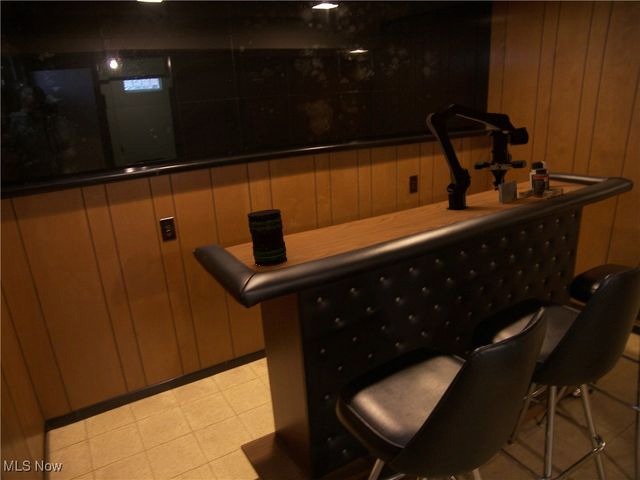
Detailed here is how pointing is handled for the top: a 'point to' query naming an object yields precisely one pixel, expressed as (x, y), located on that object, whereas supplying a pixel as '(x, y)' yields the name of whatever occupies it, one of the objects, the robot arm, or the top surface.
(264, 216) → the storage jar
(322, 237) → the top surface
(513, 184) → the grey flat block
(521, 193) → the cradle
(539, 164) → the medicine bottle
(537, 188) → the supplement bottle
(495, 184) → the cat figurine
